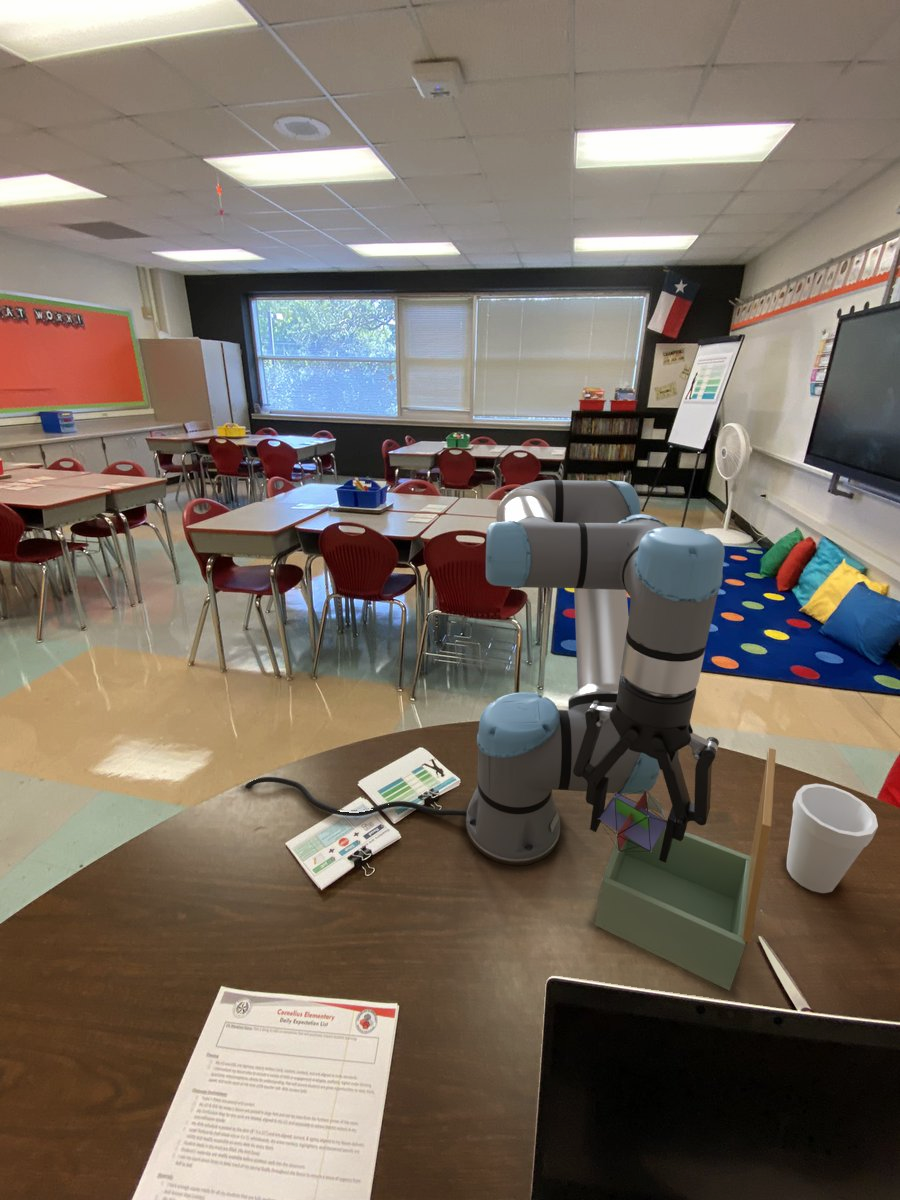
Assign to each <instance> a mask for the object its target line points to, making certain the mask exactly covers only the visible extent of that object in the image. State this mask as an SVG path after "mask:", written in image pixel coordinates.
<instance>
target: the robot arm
mask: <svg viewBox="0 0 900 1200" xmlns="http://www.w3.org/2000/svg"><path fill="white" fill-rule="evenodd" d="M495 517H496V520H495V521H494V522H491V523H490V524H489V525H488V526H487V529H486V539H485V541H486V542H485V543H486V544H485V579H486V581H487V582H488V583H489V584H490V585H492V586H495V587H497V586H498V587H508V588H509V587H510V588H512V589H521V588H532V589H534V588H535V589H538V588H539V589H573V595H574V621H575V622H574V623H575V650H576V651H575V652H576V675H577V676H576V677H577V680H576V681H577V689H576V691H575V693H573V694H572V696H570V697H569V698H568V703H567V704H568V707H567V709H565V710H564V709H559V708H558V707H557V705H556V703H555V702H554V701H553V700H552V699H550V698H549V697H547V696H544V697H542V695H541V694H539V693H535V692H529V691H528V692H527V691H526V692H525V691H520V692H513V693H512V692H511V693H509V694H505V695H503V696H500V697H497V698H496V699H495V700H494V701H492V702H490V703H489V704H487V706H486V707H485V708H484V709H483V711H482V713H481V715H480V717H479V721H478V722H479V723H478V732H477V736H476V745H477V747H478V753H477V754H478V755H477V756H478V757H477V786H476V787H475V790H474V792H473V794H472V797H471V799H470V801H469V803H468V806H467V809H466V810H464V809H440V808H433V807H429V806H426V805H422V804H419V803H416V802H412V801H405V800H397V801H389V802H386V803H381V804H379V805H375V806H372V807H370V808H371V809H373V810H370V811H365V812H359V813H349V812H340V811H337V810H338V809H339V808H336V807H333V806H330V805H327V804H325V803H323V802H320V801H318V800H317V799H316V798H314V797H313V796H312V794H311V793H310V792H309V791H308V790H307V788H306V787H305V786H304V785H303V784H301V783H300V782H298V781H295V780H291V779H288V778H282V777H278V776H277V777H275V776H263V777H258V779H257V778H255V779H256V780H255V779H252V780H253V781H252V780H250V781H251V782H250V781H249V782H247V783H246V784H245V786H244V788H246V789H250V788H251V787H253V786H255V785H257V784H262V783H276V784H284V785H286V786H290V787H294V788H296V789H297V790H299V791H300V792H301V794H303V796H304V797H305V798H306V800H307V801H308V802H309V803H310V804H311V805H313V806H314V807H316V808H318V809H320V810H322V811H324V812H328V813H331V814H334V815H339V816H344V817H345V816H346V817H361V816H367V815H370V814H374V813H378V812H380V811H382V810H383V811H384V810H386V809H390V808H397V807H403V808H410V809H414V810H417V811H421V812H424V813H427V814H432V815H436V816H460V817H465V829H466V834H467V836H468V839H469V841H470V843H471V844H472V845H473V847H474V848H475V849H476V850H477V851H478V852H479V853H481V854H482V855H483V856H485V857H486V858H488V859H489V860H492V861H494V862H497V863H500V864H503V865H509V866H525V865H526V866H527V865H531V864H535V863H538V862H540V861H541V860H544V859H545V858H546V857H548V856H549V855H550V854H551V853H552V852H553V851H554V850H555V848H556V846H557V845H558V842H559V839H560V834H561V820H560V818H561V817H560V814H559V811H558V808H557V804H556V802H555V798H554V796H553V793H552V792H553V790H555V791H573V792H586V794H585V801H586V803H587V804H589V805H591V806H592V811H591V817H590V818H591V819H590V827H589V831H592V832H595V833H597V832H598V829H599V827H600V826H601V825H600V824H601V823H602V822H601V821H599V819H598V818H599V817H600V816H601V814H602V813H603V811H604V810H605V808H606V799H607V794H615V792H617V793H618V792H620V793H618V794H620V795H626V794H627V795H631V794H630V793H632V795H636V794H637V795H643V794H644V792H645V791H644V790H646V793H647V792H650V791H651V790H652V789H653V788H654V786H655V785H656V783H657V781H658V778H659V775H660V772H662V775H663V778H664V781H665V785H666V788H667V793H668V795H669V798H670V802H671V804H672V806H671V808H670V811H669V813H668V817H667V820H666V821H667V825H666V829H665V834H664V839H663V843H662V848H661V853H660V857H659V860H660V861H662V862H665V863H666V860H667V857H668V854H669V851H670V848H671V844H672V840H673V839H676V840H678V841H682V840H683V838H684V835H685V832H687V827H688V823H689V822H695V824H697V825H699V826H705V825H707V821H708V817H709V814H710V809H711V796H712V795H711V794H712V767H713V762H714V760H715V758H716V755H717V751H718V748H719V745H720V741H719V740H718V738H716V737H715V736H709V737H707V738H705V737H703V736H700V735H698V734H696V733H694V729H693V727H692V725H691V719H692V715H693V710H694V704H695V700H696V696H697V687H698V685H699V682H700V677H701V672H702V668H703V663H704V658H705V653H706V648H707V643H708V638H709V634H710V629H711V625H712V621H713V616H714V612H715V607H716V603H717V600H718V595H719V591H720V588H721V587H722V584H723V579H724V573H723V569H724V563H725V555H726V554H725V553H726V552H725V551H726V549H725V546H724V543H723V542H722V541H721V540H720V538H719V537H717V536H715V535H713V534H711V533H705V532H704V531H703V530H701V529H696V528H690V527H681V526H669V525H667V523H666V522H665V521H664V522H663V521H662V520H660V519H658V518H657V517H655V516H652V515H648V514H644V513H643V514H642V507H641V502H640V497H639V495H638V493H637V491H636V489H635V488H634V487H633V485H632V484H630V483H629V482H626V481H622V480H612V479H609V478H607V479H603V480H573V479H572V480H571V479H567V480H566V479H543V480H536V481H532V482H528V483H526V484H523V485H521V486H517V487H516V488H514V489H512V490H510V491H509V492H508V493H506V494H505V495H504V496H503V497H502V499H501V500H500V502H499V504H498V506H497V510H496V516H495ZM628 596H629V598H630V603H629V605H628ZM628 606H629V607H628ZM686 746H689V747H690V748H691V754H692V756H693V759H694V760H696V764H695V770H694V771H695V772H694V802H692V801H691V796H690V794H689V791H688V787H687V783H686V780H685V776H684V772H683V768H682V765H681V761H680V759H679V751H680V750H681V749H684V748H685V747H686ZM641 790H642V791H641ZM629 791H631V792H629ZM639 791H641V792H639ZM635 792H636V793H635ZM388 804H389V805H388ZM340 809H341V810H343V809H342V808H340ZM351 811H357V809H356V810H353V809H352V810H351Z"/></svg>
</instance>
